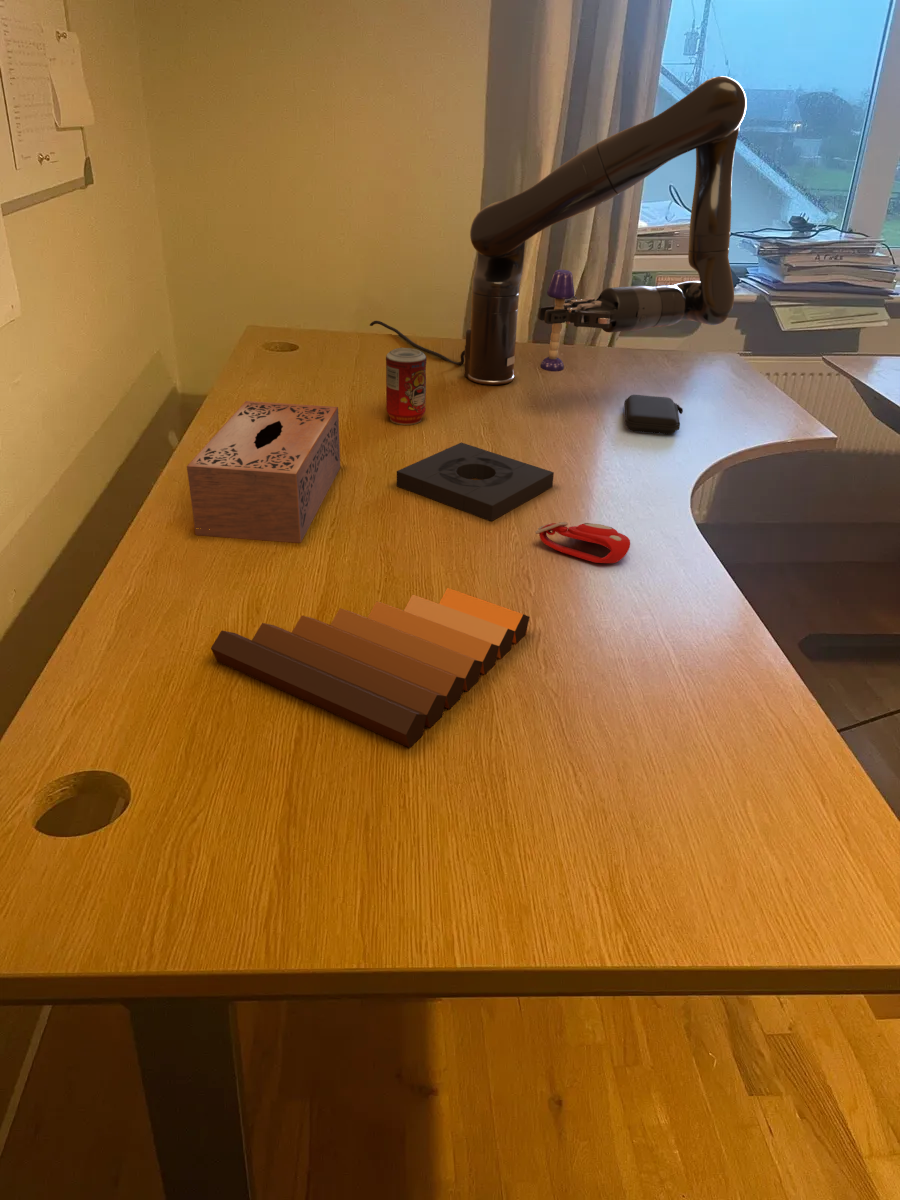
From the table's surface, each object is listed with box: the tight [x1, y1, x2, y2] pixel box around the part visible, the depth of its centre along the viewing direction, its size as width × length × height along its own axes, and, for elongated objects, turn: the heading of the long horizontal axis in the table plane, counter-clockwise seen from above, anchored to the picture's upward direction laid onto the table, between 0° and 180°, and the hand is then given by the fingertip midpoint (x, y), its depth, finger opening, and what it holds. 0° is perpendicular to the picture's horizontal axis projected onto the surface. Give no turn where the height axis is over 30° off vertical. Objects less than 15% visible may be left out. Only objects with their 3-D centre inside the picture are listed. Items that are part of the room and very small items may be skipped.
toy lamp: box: [539, 269, 575, 372], centre depth 154 cm, size 5×5×17 cm
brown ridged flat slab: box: [210, 587, 531, 749], centre depth 98 cm, size 25×3×25 cm
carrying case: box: [623, 394, 684, 435], centre depth 163 cm, size 11×3×15 cm
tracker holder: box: [535, 521, 631, 564], centre depth 119 cm, size 12×4×10 cm
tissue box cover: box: [186, 400, 341, 544], centre depth 128 cm, size 26×14×10 cm, turn 174°
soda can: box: [385, 347, 427, 426], centre depth 157 cm, size 7×7×12 cm
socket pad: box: [396, 441, 555, 522], centre depth 136 cm, size 18×16×2 cm
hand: (542, 315), depth 152 cm, fingers closed on toy lamp
